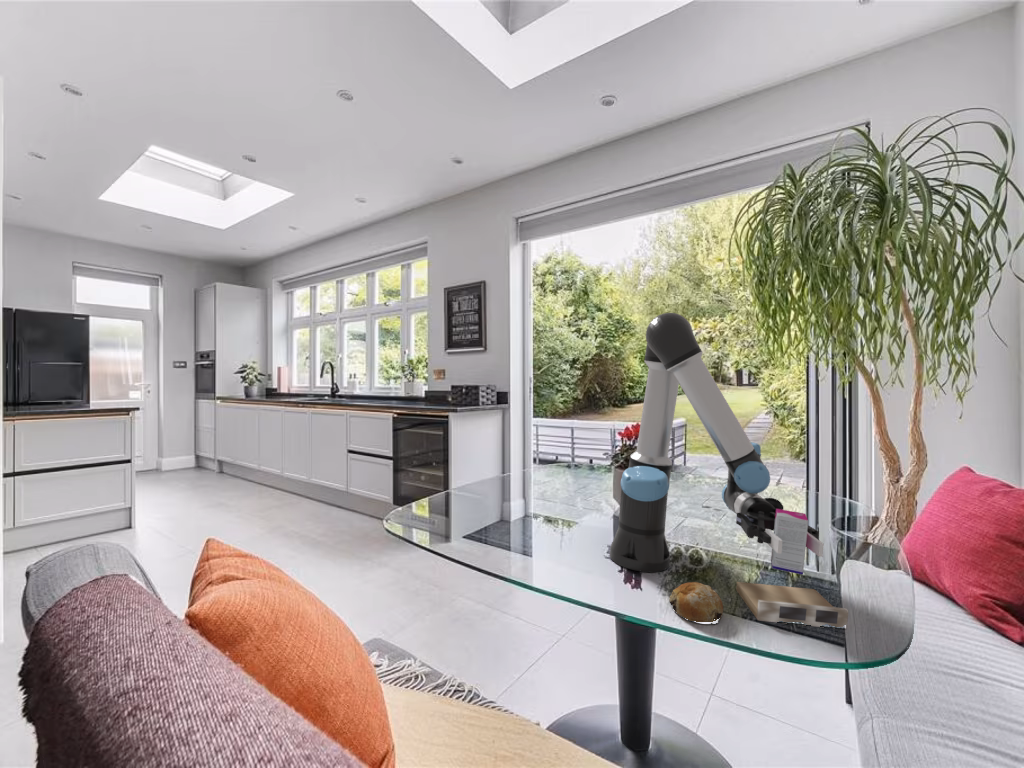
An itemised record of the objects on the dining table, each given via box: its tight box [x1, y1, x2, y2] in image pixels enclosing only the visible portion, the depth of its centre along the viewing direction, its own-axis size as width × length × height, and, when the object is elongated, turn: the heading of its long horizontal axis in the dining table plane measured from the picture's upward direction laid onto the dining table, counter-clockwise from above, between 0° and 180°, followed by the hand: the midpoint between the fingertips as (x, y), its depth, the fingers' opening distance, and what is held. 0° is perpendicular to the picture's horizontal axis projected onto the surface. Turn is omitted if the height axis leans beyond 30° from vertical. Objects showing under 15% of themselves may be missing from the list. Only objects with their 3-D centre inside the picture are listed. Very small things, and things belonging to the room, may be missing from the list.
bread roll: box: [668, 581, 724, 622], centre depth 100 cm, size 10×10×8 cm
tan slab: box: [735, 581, 849, 628], centre depth 104 cm, size 17×13×4 cm
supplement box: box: [770, 509, 809, 575], centre depth 102 cm, size 6×6×12 cm
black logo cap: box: [763, 497, 784, 510], centre depth 165 cm, size 9×11×18 cm
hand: (800, 548), depth 97 cm, fingers closed on supplement box, 7 cm apart
